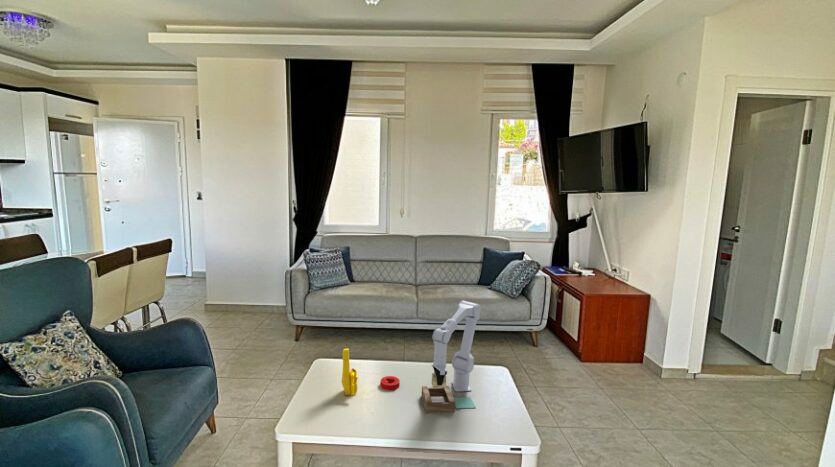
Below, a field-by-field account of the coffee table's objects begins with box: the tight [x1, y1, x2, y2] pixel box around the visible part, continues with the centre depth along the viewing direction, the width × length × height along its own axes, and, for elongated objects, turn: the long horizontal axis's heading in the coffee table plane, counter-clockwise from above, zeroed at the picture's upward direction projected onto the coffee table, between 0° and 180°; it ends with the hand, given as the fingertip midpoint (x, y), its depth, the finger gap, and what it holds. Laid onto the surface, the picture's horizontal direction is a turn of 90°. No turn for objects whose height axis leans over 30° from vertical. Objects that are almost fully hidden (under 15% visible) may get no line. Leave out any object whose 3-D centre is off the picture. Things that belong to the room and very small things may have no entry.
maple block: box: [431, 373, 447, 388], centre depth 194 cm, size 4×6×5 cm, turn 98°
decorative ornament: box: [380, 375, 401, 391], centre depth 211 cm, size 10×10×3 cm
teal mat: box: [453, 397, 477, 410], centre depth 197 cm, size 9×9×1 cm
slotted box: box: [421, 385, 456, 414], centre depth 196 cm, size 15×13×5 cm
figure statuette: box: [341, 348, 359, 397], centre depth 201 cm, size 18×8×22 cm, turn 7°
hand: (438, 382), depth 195 cm, fingers closed on maple block, 4 cm apart
